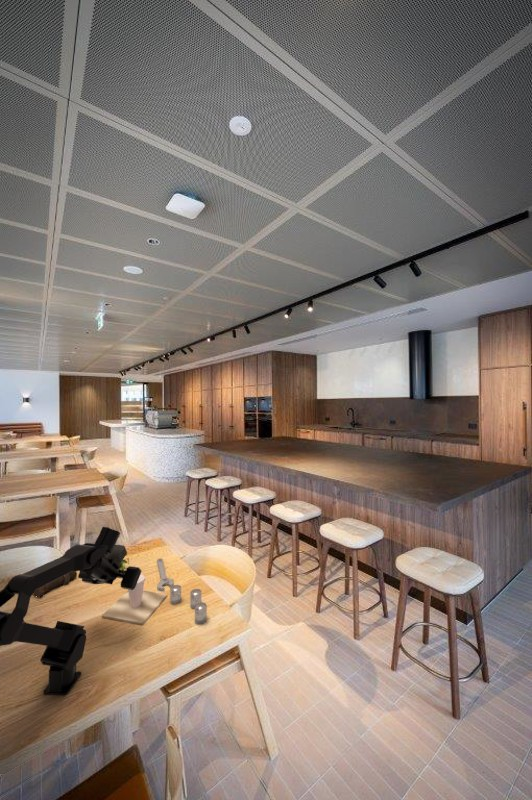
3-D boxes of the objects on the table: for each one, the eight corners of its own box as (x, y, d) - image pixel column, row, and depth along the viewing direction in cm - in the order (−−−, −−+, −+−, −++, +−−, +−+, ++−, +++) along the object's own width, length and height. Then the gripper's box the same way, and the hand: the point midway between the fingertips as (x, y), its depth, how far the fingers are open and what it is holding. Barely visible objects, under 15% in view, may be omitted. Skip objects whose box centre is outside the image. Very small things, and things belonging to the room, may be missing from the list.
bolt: (76, 582, 137) (36, 601, 124) (70, 574, 139) (31, 591, 126) (80, 572, 135) (41, 590, 122) (74, 564, 137) (35, 580, 124)
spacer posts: (199, 626, 109) (199, 611, 109) (168, 601, 122) (168, 588, 122) (217, 614, 115) (217, 600, 115) (185, 592, 128) (185, 579, 127)
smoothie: (133, 598, 122) (133, 561, 122) (148, 600, 121) (148, 563, 121) (122, 609, 116) (122, 570, 116) (138, 611, 115) (138, 572, 115)
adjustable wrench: (156, 562, 151) (156, 558, 151) (170, 560, 153) (170, 556, 153) (157, 593, 127) (157, 588, 127) (174, 590, 130) (174, 585, 130)
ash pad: (142, 625, 109) (142, 622, 109) (101, 617, 113) (101, 615, 113) (167, 596, 125) (167, 594, 125) (130, 590, 128) (130, 588, 128)
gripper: (138, 544, 104) (156, 561, 115) (88, 538, 108) (111, 555, 119) (122, 582, 96) (143, 596, 107) (69, 574, 100) (95, 588, 111)
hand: (123, 582), depth 111 cm, fingers open, 9 cm apart
